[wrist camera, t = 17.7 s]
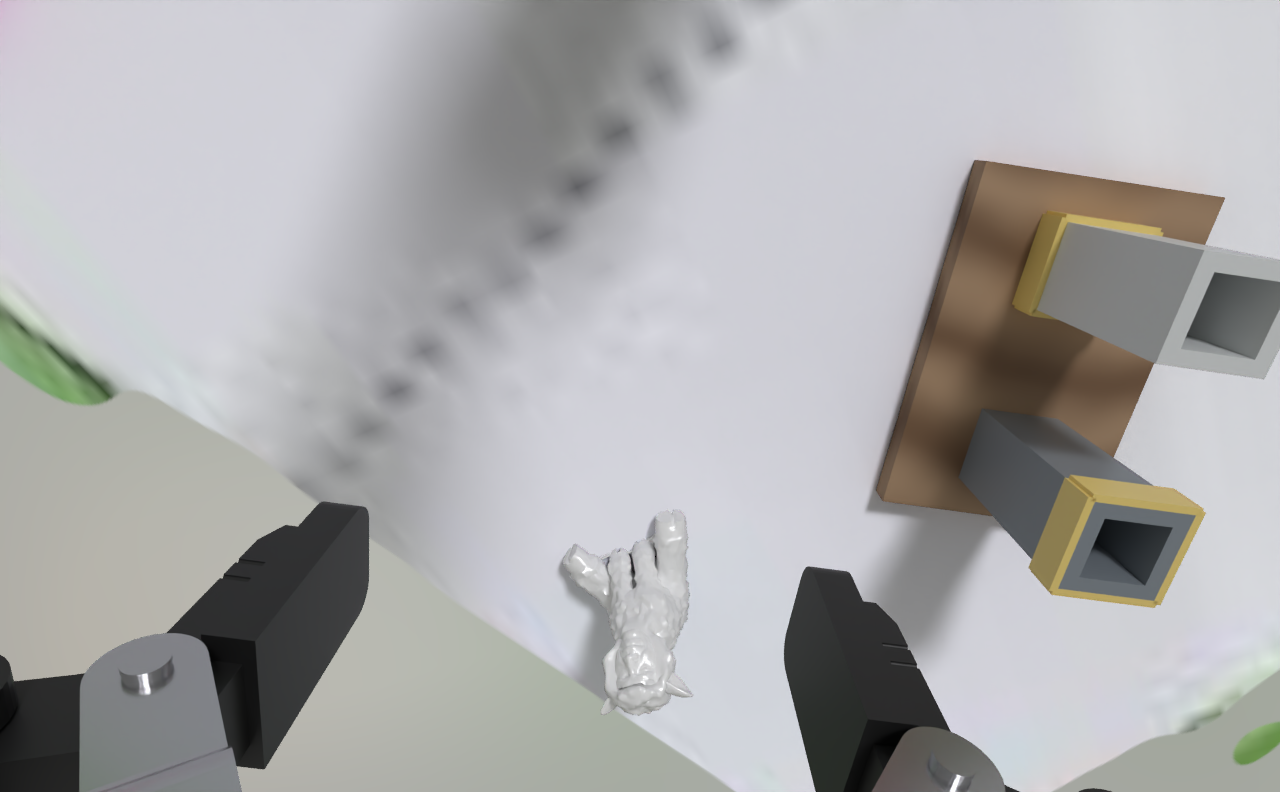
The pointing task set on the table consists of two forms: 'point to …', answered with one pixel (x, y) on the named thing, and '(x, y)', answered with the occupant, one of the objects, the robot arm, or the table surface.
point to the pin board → (1018, 330)
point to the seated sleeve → (1155, 294)
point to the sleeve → (1078, 510)
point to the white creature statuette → (640, 613)
